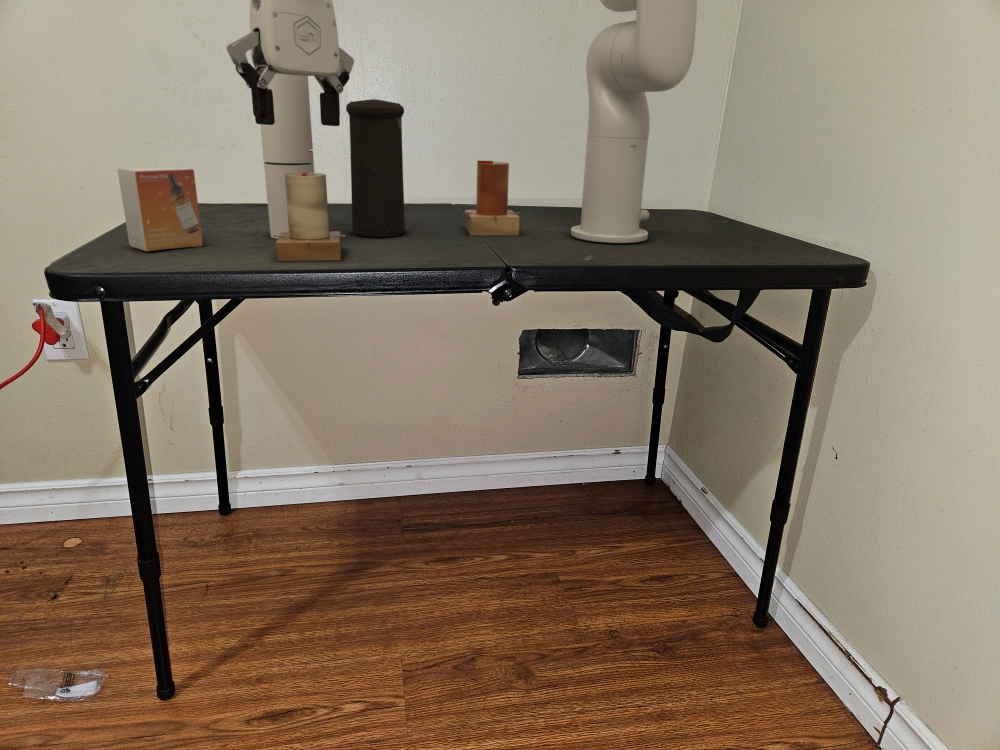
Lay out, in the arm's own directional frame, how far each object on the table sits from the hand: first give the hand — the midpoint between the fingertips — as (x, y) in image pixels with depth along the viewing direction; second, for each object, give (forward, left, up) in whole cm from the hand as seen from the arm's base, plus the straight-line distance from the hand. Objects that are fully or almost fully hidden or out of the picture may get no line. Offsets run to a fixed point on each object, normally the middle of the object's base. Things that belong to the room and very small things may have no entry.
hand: (299, 125), depth 86 cm
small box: (+11, -18, -17) cm, 27 cm away
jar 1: (0, 0, -14) cm, 14 cm away
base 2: (-34, +4, -17) cm, 38 cm away
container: (-18, -7, -17) cm, 26 cm away
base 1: (0, 0, -17) cm, 17 cm away
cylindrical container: (-7, -14, -17) cm, 23 cm away
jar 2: (-34, +4, -14) cm, 36 cm away
